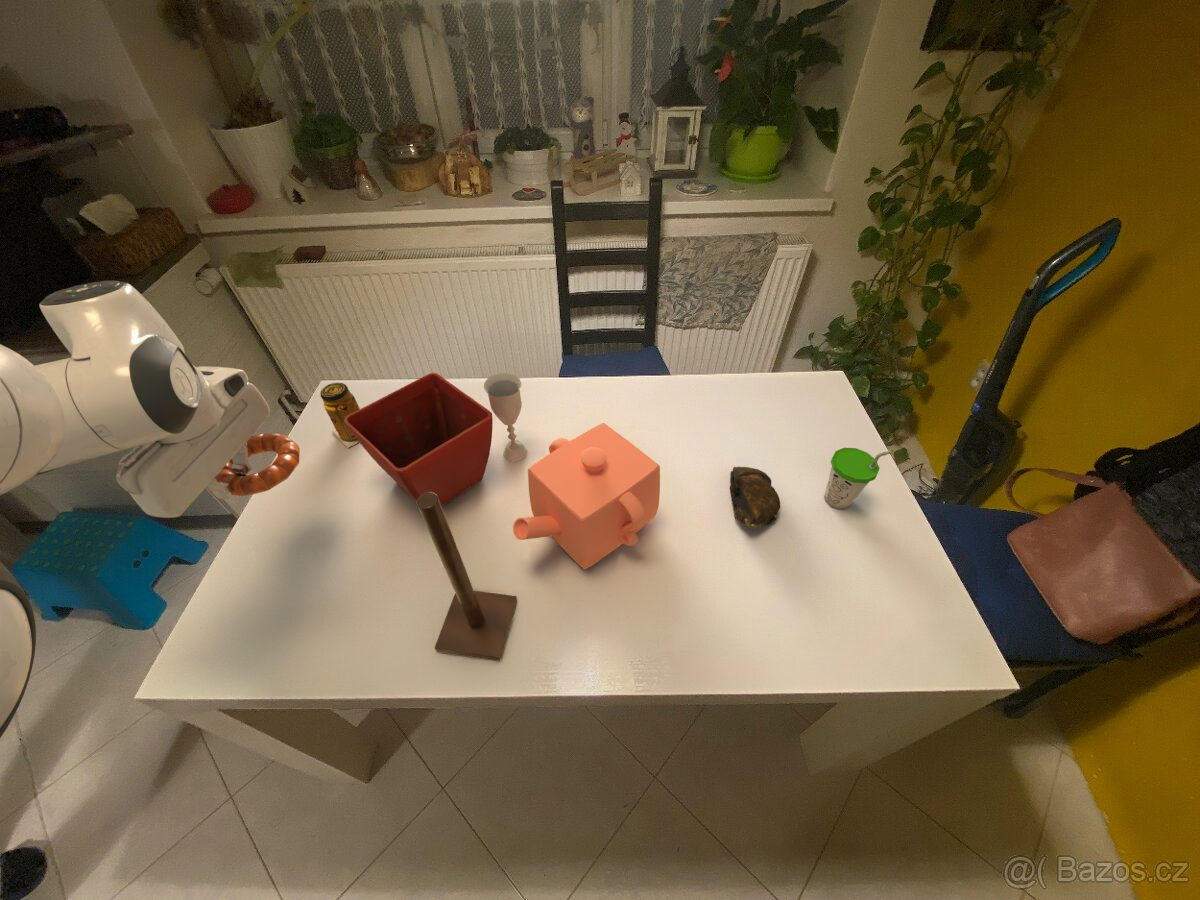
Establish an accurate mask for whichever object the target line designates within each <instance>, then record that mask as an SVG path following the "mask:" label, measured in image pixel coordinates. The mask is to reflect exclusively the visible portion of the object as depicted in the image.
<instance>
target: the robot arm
mask: <svg viewBox="0 0 1200 900" xmlns="http://www.w3.org/2000/svg"><path fill="white" fill-rule="evenodd" d="M39 309H40V311H41V313H42V315H43V316H44V318H45V320H46V321H47V323H48V324H49V326H50V327H51V329H52V331H53V332H54V333H55V335H56V336H57V338H58V339H59V340H60V342H61V343H62V344H63V346H64V347H65V348H66V350H67V351H68V352H69V353H70V355H71V357H67V358H63V359H58V360H54V361H49V362H45V363H40V364H36V365H34V364H33V362H32V363H31V362H30V361H29V360H28V359H27V358H26V357H24V356H22V355H21V354H20V353H18V352H17V351H14V349H13V350H12V349H11V348H9V347H7V346H5V345H3V344H1V343H0V496H2V495H4V494H6V493H7V492H10V491H12V490H14V489H15V488H17V487H19V486H21V485H23V484H24V483H25V482H27V481H29V480H31V479H32V478H34V477H37V476H42V475H43V474H46V473H49V472H52V471H55V470H57V469H60V468H63V467H67V466H70V465H74V464H79V463H81V462H85V461H89V460H92V459H96V458H101V457H104V456H107V455H111V454H114V453H117V452H122V451H126V450H128V449H132V448H133V449H132V450H130V452H129V453H126V454H124V456H123V457H122V458H120V460H119V461H118V465H119V467H118V468H117V471H116V475H115V480H116V482H117V483H118V484H119V486H120V487H122V488H123V489H124V490H125V491H126V492H127V493H129V495H130V496H131V497H132V499H133V500H134V502H135V503H136V504H137V505H138V507H140V509H141V510H142V511H143V512H144V513H145V514H146V515H149V516H151V517H157V518H165V519H166V518H167V519H170V518H171V519H172V518H179V517H180V516H181V515H183V513H184V512H185V511H187V509H188V508H189V507H190V505H192V504H193V502H194V501H196V499H197V498H198V497H199V496H200V494H202V492H203V491H209V492H211V493H212V494H213V495H214V496H215V497H216V498H217V499H219V500H220V499H221V500H228V499H229V498H230V497H231V496H232V495H231V494H232V493H233V492H234V489H232V487H231V485H230V484H229V483H223V484H222V483H220V482H217V480H216V479H215V477H216V475H217V474H218V473H219V472H220V471H221V470H222V469H223V468H224V467H225V465H226V464H227V463H228V462H229V461H230V460H231V459H232V461H233V465H232V466H231V467H230V469H231V470H232V471H234V474H235V475H237V476H247V475H250V473H251V472H252V471H253V467H252V465H250V463H249V458H248V451H247V447H246V446H245V443H246V442H247V441H248V440H249V439H250V438H251V437H252V436H254V435H255V434H256V433H257V431H258V430H259V429H260V428H261V427H262V425H264V424H265V422H266V421H268V419H269V418H270V406H269V404H268V402H267V401H266V399H265V398H264V396H263V395H262V392H260V391H259V389H258V388H257V386H256V385H254V383H251V382H249V377H248V375H247V373H246V372H245V370H243V369H239V368H233V367H225V366H210V365H209V366H195V365H194V363H192V362H191V361H190V359H189V357H188V356H187V355H186V351H185V347H184V345H183V344H182V342H181V341H180V339H179V338H178V336H177V335H176V333H175V332H174V331H173V329H172V328H171V327H170V326H169V324H168V323H167V322H166V320H165V319H164V318H163V317H162V315H161V314H160V313H159V312H158V311H157V310H156V309H155V307H154V306H153V305H152V304H151V303H150V302H149V301H148V299H147V298H145V296H143V294H142V293H140V292H139V290H137V289H136V288H135V287H134V286H133V285H131V284H130V283H129V282H125V281H119V280H100V281H94V282H88V283H83V284H78V285H73V286H71V287H68V288H63V289H60V290H57V291H55V292H52V293H51V294H49V295H47V296H46V297H45V298H44V299H43V300H41V302H40V303H39ZM214 484H215V485H214ZM35 618H36V617H35V614H34V610H33V606H32V604H31V601H30V600H29V598H28V596H27V594H26V593H25V591H24V589H23V587H22V586H21V584H20V583H19V582H18V580H17V579H16V578H15V576H14V575H13V574H12V573H11V572H10V570H9V569H8V568H7V567H6V566H5V565H4V563H3V562H2V561H1V560H0V739H1V738H2V737H3V735H4V733H5V732H6V730H7V729H8V727H9V725H10V724H11V722H12V721H13V719H14V717H15V716H16V715H15V714H16V713H17V710H18V709H19V707H20V704H21V702H22V700H23V697H24V695H25V693H26V690H27V687H28V683H29V681H30V677H31V674H32V670H33V666H34V661H35V654H36V646H37V645H36V644H37V627H36V619H35Z"/></svg>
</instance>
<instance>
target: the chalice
mask: <svg viewBox="0 0 1200 900" xmlns="http://www.w3.org/2000/svg"><path fill="white" fill-rule="evenodd" d="M521 387H522V381H521V379H520V378H519V377H518V376H517V375H516V374H513V373H508V372H500V373H496V374H493V375H491V376H489V377H488V378H487V379H486V380H485V382H484V383H483V390H484V392H485V393H486V394H487V396H488V401H489V405H490V409H491V411H492V412H493V414H494V415H495V417H497V419H498V420H499V421H500V422H501V423H502V424H503V425H505V426H507V428H506V431H507V432H508V435H507V438H508V440H510V441H508V443H506V445H505V448H504V450H503V454H502V455H503V458H504V459H505V460H506V461H508V462H511V463H517V462H520V461H522V460H524V459H525V458H526V457H527V456H528V449H527V447H526V446H525V445H524V444H523V442H521V441H519V440H516V438H517V434H516V433H515V431H516V428H515V427H514V426H513V425H515V424H516V422H517V420H518V418H519V416H520V414H521V410H522V407H523V406H522V404H523V403H522V396H521V390H520V389H521Z"/></svg>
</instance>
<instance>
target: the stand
mask: <svg viewBox="0 0 1200 900" xmlns="http://www.w3.org/2000/svg"><path fill="white" fill-rule="evenodd" d="M415 502H416V501H415ZM416 506H417V509H418V511H419V513H420V515H421V517H422V520H423V523H424V524H425V526H426V529H427V531H428V534H429V536H430V538H431V540H432V543H433V545H434V547H435V550H436V552H437V554H438V557H439V559H440V561H441V563H442V566H443V568H444V571H445V572H446V575H447V576H448V579H449V582H450V584H451V586H452V588H453V591H454V594H453V598H452V600H451V603H450V606H449V609H448V611H447V613H446V616H445V618H444V621H443V624H442V627H441V629H440V632H439V635H438V638H437V640H436V642H435V645H434V650H435V651H436V653H442V654H447V655H455V656H461V657H469V658H475V659H482V660H489V661H495V662H501V660H502V657H503V654H504V649H505V646H506V642H507V639H508V636H509V631H510V628H511V625H512V621H513V617H514V614H515V611H516V607H517V603H518V598H517V595H511V594H505V593H504V594H503V593H497V592H488V591H480V590H474V588H473V584H472V582H471V579H470V577H469V574H468V572H467V569H466V567H465V564H464V561H463V559H462V556H461V553H460V551H459V549H458V546H457V543H456V540H455V538H454V535H453V532H452V530H451V527H450V525H449V523H448V519H447V517H446V514H445V512H444V509H443V506H441V504H440V501H439V498H438V496H437V495H436V494H435V493H433V492H427V493H424V494H422V495H420V496H419V497H418V499H417V502H416Z"/></svg>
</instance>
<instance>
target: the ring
mask: <svg viewBox="0 0 1200 900" xmlns="http://www.w3.org/2000/svg"><path fill="white" fill-rule="evenodd" d="M245 446H246V447H247V451H248V459H249V458H251V457H253V456H254V455H259V454H262V453H267V452H269V453H270V452H271V453H276V454H277V457H276V458H275V460H274V461H273V462H272V463H271V464H270V465H269V466H267V467H265V468H264V469H262V470H260V471H258V472H255V473H251V474H248V475H247V476H237V475H235V474H234V471H232V470H231V469H230V467H231V466H232V465H233V461H232V459H231V460H230V461H229V462H228V463H227V464H226V465H225V467H224V468H223V469H222V470H221V471H220V472H219V473H218V474H217V475H216V477H215V479H216V480H217V482H220V483H222V484H223V483H229V484H230V485H231V487H232V489H234V492H233V493H232V494H231V496H237V497H248V496H252V495H256V494H260V493H264V492H267V491H270V490H272V489H273V488H275V487H277V486H278V485H280V484H282V483H283V482H285V481H286V480H288V479H289V477H290V476H291V475H292V473H293V472H294V471H295V470H296V468H297V467H298V465H299V464H300V454H301V453H300V446H299V444H297V443H296V442H295V441H294V440H292V439H291V437H289V436H288V435H286V434H282V433H281V434H280V433H270V432H264V433H260V434H254V435H252V437H251V438H250V439H249V440H248V441H247V442H246V443H245ZM214 485H215V484H214Z"/></svg>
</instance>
